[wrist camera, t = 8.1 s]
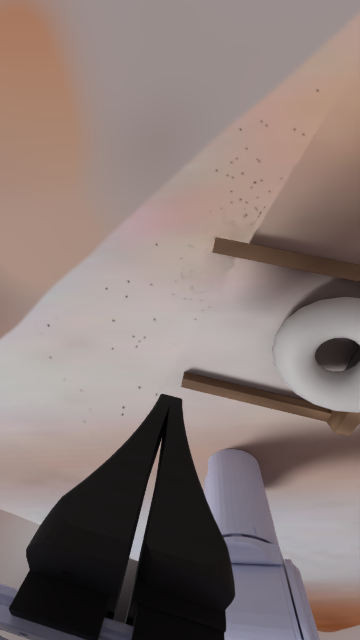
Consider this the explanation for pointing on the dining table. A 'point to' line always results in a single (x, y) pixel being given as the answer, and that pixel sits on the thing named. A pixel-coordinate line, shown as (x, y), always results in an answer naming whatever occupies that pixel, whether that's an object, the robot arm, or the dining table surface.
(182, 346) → the dining table surface
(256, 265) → the dining table surface
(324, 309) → the donut
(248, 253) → the guide track
